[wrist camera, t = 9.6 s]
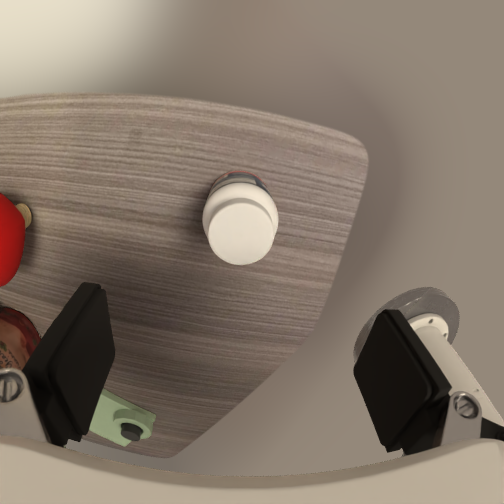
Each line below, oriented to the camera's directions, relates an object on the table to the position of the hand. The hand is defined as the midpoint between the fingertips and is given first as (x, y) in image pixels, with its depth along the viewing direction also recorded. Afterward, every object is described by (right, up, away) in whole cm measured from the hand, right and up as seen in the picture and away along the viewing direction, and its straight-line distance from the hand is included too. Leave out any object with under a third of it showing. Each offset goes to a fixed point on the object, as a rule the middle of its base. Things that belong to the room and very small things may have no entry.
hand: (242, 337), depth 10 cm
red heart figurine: (-24, +7, +15) cm, 29 cm away
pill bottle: (-1, +7, +16) cm, 18 cm away
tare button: (-17, -23, +26) cm, 39 cm away
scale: (-23, -23, +29) cm, 44 cm away
